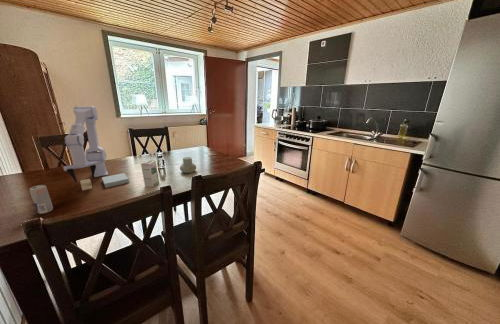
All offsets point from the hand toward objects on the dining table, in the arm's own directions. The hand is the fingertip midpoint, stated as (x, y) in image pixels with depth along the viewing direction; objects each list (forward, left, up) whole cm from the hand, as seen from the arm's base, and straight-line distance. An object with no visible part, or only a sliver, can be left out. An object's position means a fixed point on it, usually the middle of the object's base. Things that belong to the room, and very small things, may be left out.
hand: (84, 179), depth 114 cm
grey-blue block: (0, +14, -6) cm, 15 cm away
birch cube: (0, 0, -5) cm, 5 cm away
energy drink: (+18, -16, -5) cm, 25 cm away
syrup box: (+18, +30, -5) cm, 35 cm away
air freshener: (+11, +56, -5) cm, 57 cm away
